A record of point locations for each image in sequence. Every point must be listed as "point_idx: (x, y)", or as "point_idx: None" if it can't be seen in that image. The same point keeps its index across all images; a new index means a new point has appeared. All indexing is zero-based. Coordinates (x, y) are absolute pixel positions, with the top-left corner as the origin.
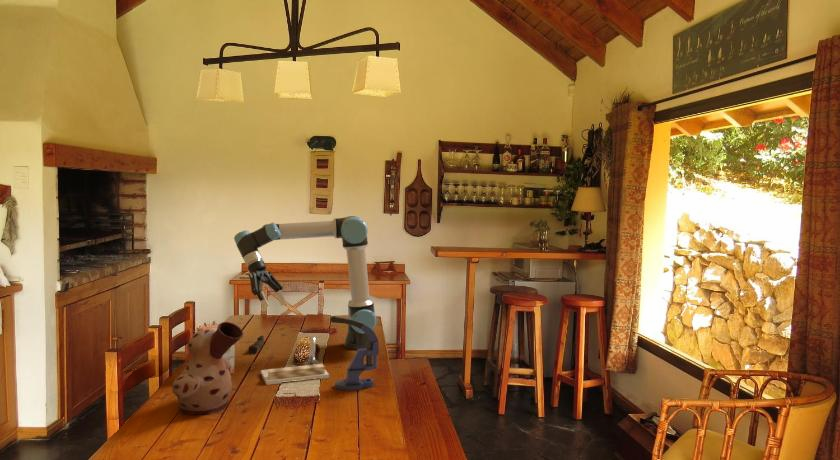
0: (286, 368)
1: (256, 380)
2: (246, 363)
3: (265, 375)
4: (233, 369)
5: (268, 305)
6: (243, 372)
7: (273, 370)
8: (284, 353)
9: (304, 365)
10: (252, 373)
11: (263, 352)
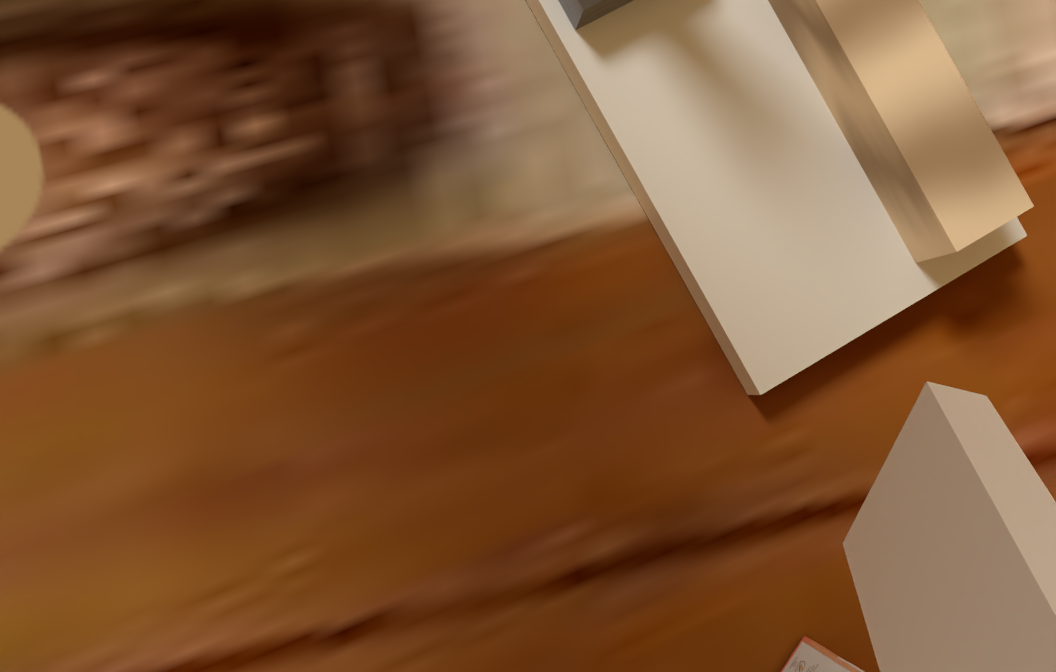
0: (900, 88)
1: (917, 366)
2: (469, 666)
3: (892, 297)
4: (830, 651)
5: (938, 403)
6: (740, 570)
7: (979, 191)
8: (33, 404)
9: (616, 1)
10: (751, 476)
11: (30, 658)
